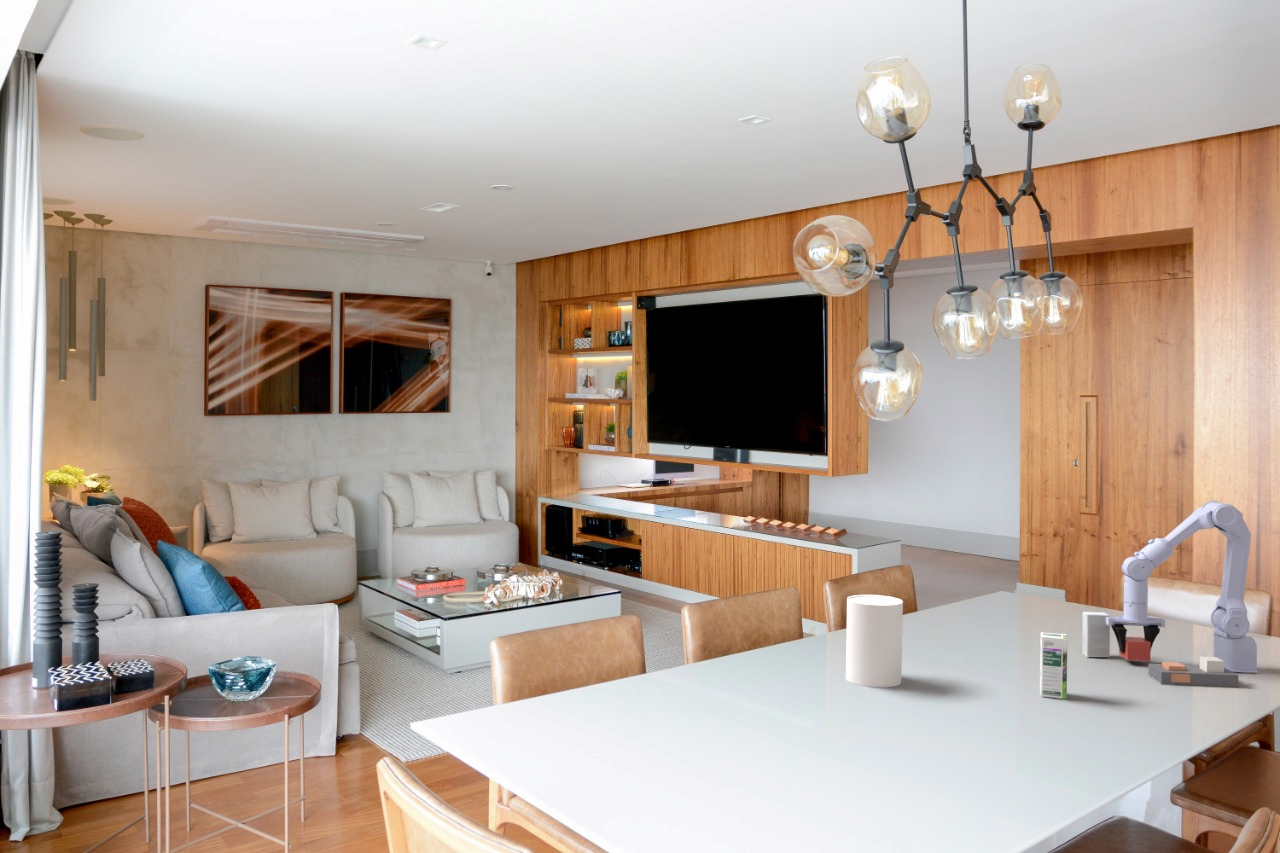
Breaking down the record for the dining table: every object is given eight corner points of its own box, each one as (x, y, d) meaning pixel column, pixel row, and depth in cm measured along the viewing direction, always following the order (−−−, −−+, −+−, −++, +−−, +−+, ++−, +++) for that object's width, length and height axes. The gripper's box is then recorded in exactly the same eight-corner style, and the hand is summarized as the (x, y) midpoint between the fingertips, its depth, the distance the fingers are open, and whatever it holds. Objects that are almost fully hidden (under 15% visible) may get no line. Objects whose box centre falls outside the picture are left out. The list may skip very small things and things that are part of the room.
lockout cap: (1141, 655, 265) (1142, 637, 265) (1150, 660, 259) (1150, 642, 259) (1119, 654, 266) (1119, 636, 265) (1127, 660, 260) (1127, 641, 260)
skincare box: (1103, 654, 271) (1104, 611, 271) (1109, 658, 267) (1110, 615, 267) (1081, 654, 272) (1082, 611, 271) (1086, 658, 267) (1087, 614, 267)
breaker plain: (1216, 671, 247) (1216, 657, 247) (1223, 675, 243) (1224, 661, 243) (1199, 670, 247) (1199, 656, 247) (1206, 674, 243) (1207, 660, 243)
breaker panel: (1222, 678, 249) (1222, 666, 248) (1238, 687, 240) (1238, 675, 240) (1148, 675, 251) (1148, 663, 251) (1161, 684, 242) (1161, 672, 242)
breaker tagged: (1178, 676, 248) (1178, 662, 248) (1185, 680, 244) (1185, 666, 244) (1161, 675, 248) (1162, 661, 248) (1168, 679, 244) (1168, 665, 244)
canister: (858, 669, 253) (859, 592, 253) (909, 678, 245) (910, 599, 245) (837, 680, 242) (838, 600, 242) (889, 690, 234) (890, 607, 234)
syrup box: (1040, 697, 230) (1041, 636, 230) (1039, 690, 236) (1040, 630, 236) (1066, 700, 228) (1067, 638, 228) (1065, 693, 234) (1066, 632, 234)
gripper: (1157, 600, 265) (1157, 649, 265) (1102, 598, 267) (1101, 647, 267) (1168, 605, 258) (1168, 656, 258) (1111, 603, 260) (1110, 654, 260)
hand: (1134, 652), depth 262 cm, fingers closed on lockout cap, 6 cm apart
